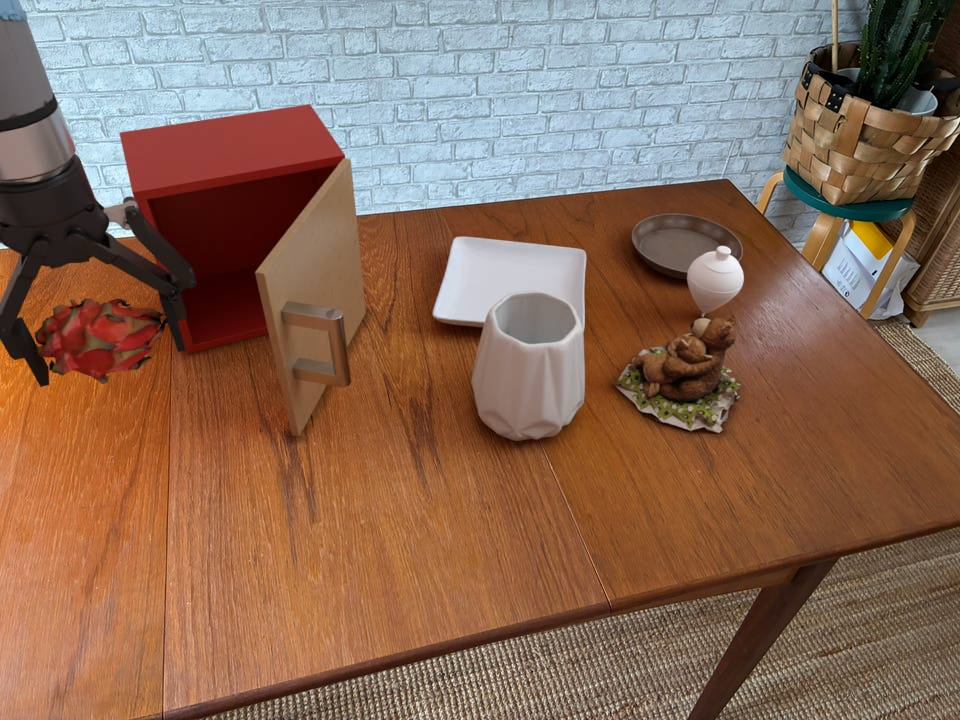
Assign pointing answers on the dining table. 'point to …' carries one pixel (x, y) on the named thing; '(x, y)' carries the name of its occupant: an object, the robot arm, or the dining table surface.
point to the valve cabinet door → (314, 296)
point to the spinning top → (714, 279)
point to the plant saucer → (680, 242)
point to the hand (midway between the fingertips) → (114, 360)
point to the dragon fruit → (99, 337)
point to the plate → (506, 277)
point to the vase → (529, 366)
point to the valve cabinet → (228, 205)
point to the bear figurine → (685, 377)
